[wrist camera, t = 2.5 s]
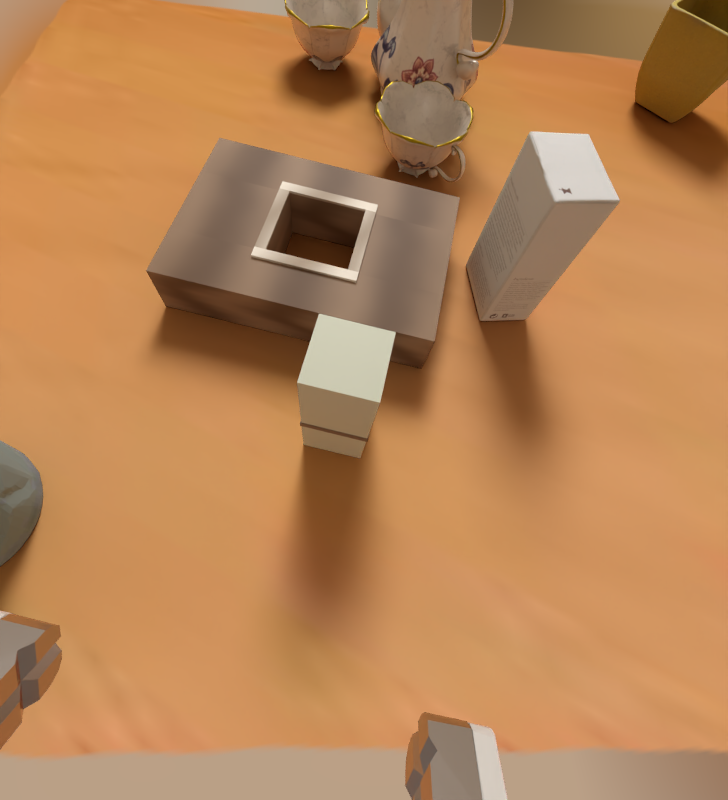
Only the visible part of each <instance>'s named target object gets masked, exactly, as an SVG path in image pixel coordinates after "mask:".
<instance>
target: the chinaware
mask: <svg viewBox="0 0 728 800" xmlns="http://www.w3.org/2000/svg"><path fill="white" fill-rule="evenodd" d="M285 8H286V11H287V14H288V16H289V17H290V18H291V20H292V24H293V28H294V32H295V34H296V37H297V39H298V41H299V43H300V44H301V46H302V47H303V49H304V50H305V51H306V52H307V53H308V54H309V55H310V56H311V57H313V58H311V59H309V61H312V62H313V64H314V65H315V66H317V67H318V70H320V69H326V70H331V69H333V70H336V68H337V67H338V66H339V64H340V63H341V62H343V61H342V60H340V59H342V58H344V57H345V56H346V55H347V54H348V53H349V52H350V51H351V50H352V49H353V47H354V46H355V44H356V42H357V39H358V37H359V33H360V30H361V27H362V24H365V23H367V21H368V19H369V11H368V10H367V0H285ZM471 9H472V0H378V9H377V23H378V30H379V34H380V38H379V40H378V41H377V43H376V45H375V46H374V48H373V50H372V53H371V61H372V65H373V67H374V69H375V72H376V74H377V76H378V79H379V81H380V85H381V86H380V95H381V99H380V100H381V101H379V102H377V103H376V107H375V111H374V112H375V116H376V118H377V119H378V120H379V121H380V122H381V124H382V130H383V137H384V141H385V144H386V146H387V149H388V150H389V152H390V154H391V155H392V156H393V158H394V159H395V160H396V161H397V162H398V166H399V168H400V169H399V172H401V171H403V172H405V173H408V174H411V175H414V176H415V177H416V178H418V175H420V174H422V173H424V172H425V171H427V170H429V176H430V177H431V178H433V177H436V176H437V173H438V172H439V173H440V174H441V176H442V177H443V178H444V179H445V180H446V181H448V182H456V181H458V180H459V179H460V178H461V177H462V175H463V173H464V171H465V156H464V154H463V152H462V150H461V149H460V148H459V147H458V146H456V145H458V144H460V143H461V142H462V141H463V139H464V138H465V137H466V135H467V133H468V129H469V127H470V125H471V123H472V120H473V108H472V107H471V106H470V105H469V104H468V103H467V102H465V101H460V99H461V98H462V96H463V95H464V94H465V93H466V92H467V91H468V90H469V89H470V88H471V87H472V85H473V84H474V83H475V81H476V79H477V76H478V67H479V64H478V62H477V61H476V60H483V59H486V58H488V57H490V56H491V55H492V54H494V53H495V52H496V51H497V50H498V49H499V47H500V46H501V44H502V43H503V41H504V39H505V37H506V35H507V33H508V30H509V27H510V23H511V19H512V13H513V0H503V14H502V21H501V25H500V28H499V31H498V34H497V36H496V38H495V40H494V42H493V43H492V45H491V46H490V47H489V48H488V49H487V50H485V51H483V52H475V51H474V47H473V41H472V34H471ZM454 149H455V150H454ZM457 152H458V155H459V158H460V173H459V175H458V177H457V178H454V179H453V178H450V177H448V176H447V175H446V174H445V173H444V172H443V171H442V170H441V169H440V168H439V167H437V166H436V165H438V164H439V163H441V162H442V161H443V160H444V159H446V158H447V157H448V156H449V154H450V153H451V154H452V155H455V154H456V153H457ZM430 168H431V169H430Z"/></svg>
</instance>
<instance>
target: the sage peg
mask: <svg viewBox="0 0 728 800" xmlns="http://www.w3.org/2000/svg"><path fill="white" fill-rule="evenodd" d="M395 334H396V332H393V331H389V330H385V329H380V328H376V327H372V326H368V325H364V324H360V323H356V322H352V321H348V320H344V319H340V318H336V317H332V316H328V315H323V314H319V315H318V318H317V321H316V325H315V328H314V331H313V334H312V337H311V340H310V343H309V346H308V350H307V353H306V356H305V359H304V362H303V365H302V368H301V372H300V375H299V378H298V381H297V387H298V397H299V406H300V416H301V422H300V426H302V435H303V445H307V446H311V447H315V448H319V449H323V450H327V451H331V452H335V453H340V454H344V455H348V456H352V457H356V458H360V457H361V455H362V452H363V449H364V446H365V444H366V442H367V441H368V437H369V433H370V430H371V427H372V424H373V421H374V418H375V416H376V413H377V410H378V407H379V404H380V401H381V397H382V392H383V388H384V383H385V379H386V374H387V370H388V365H389V361H390V356H391V352H392V347H393V343H394V338H395Z"/></svg>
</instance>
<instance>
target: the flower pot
mask: <svg viewBox="0 0 728 800" xmlns="http://www.w3.org/2000/svg"><path fill="white" fill-rule="evenodd" d="M727 80H728V0H676V1H675V2H673V3H672V4H671V5H670V7H669V10H668V11H667V13H666V15H665V17H664V19H663V21H662V23H661V25H660V27H659V29H658V31H657V33H656V35H655V37H654V39H653V41H652V43H651V45H650V47H649V49H648V51H647V53H646V55H645V57H644V60H643V62H642V65H641V67H640V70H639V74H638V78H637V83H636V90H635V101H636V102H637V103H638V104H640V105H641V106H643V107H645V108H646V109H648V110H650V111H652V112H653V113H655V114H656V115H658V116H660V117H661V118H663V119H665V120H666V121H668V122H670V123H673V122H676V121H677V120H679V119H681V118H682V117H684V116H686V115H687V114H689V113H690V112H691V111H693V110H694V109H695V108H696V107H698V106H699V105H700V104H701V103H702V102H703V101H705V100H706V99H707V98H708V97H709V96H710V95H711V94H712V93H713V92H714V91H715V90H716V89H718V88H719V87H720V86H721V85H722V84H723V83H725V82H726V81H727Z"/></svg>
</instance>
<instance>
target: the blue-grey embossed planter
mask: <svg viewBox="0 0 728 800" xmlns="http://www.w3.org/2000/svg"><path fill="white" fill-rule="evenodd" d="M42 502H43V488H42V482H41V478H40V474H39V472H38V470H37V469H36V468H35V466H34V465H33V464H32V463H31V461H30V460H29V459H28V458H27V457H26V456H25V454H23V453H21V452H20V451H18V450H16V449H15V448H13V447H11V446H9V445H7V444H6V443H4V442H2V441H0V566H1V565H3V564H4V563H5V562H6V561H8V560H9V559H10V558H11V557H12V556H13V555H14V554H15V553H16V552H17V551H18V550H19V549H20V548H21V547H22V546H23V544H24V543H25V542H26V540H27V539H28V538H29V536H30V535H31V533H32V531H33V529H34V527H35V526H36V523H37V521H38V519H39V515H40V512H41V508H42Z"/></svg>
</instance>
